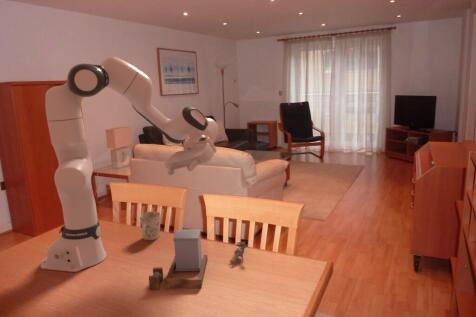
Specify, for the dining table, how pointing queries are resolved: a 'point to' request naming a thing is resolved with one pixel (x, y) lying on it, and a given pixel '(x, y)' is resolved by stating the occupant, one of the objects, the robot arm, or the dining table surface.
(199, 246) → the gray rectangular block
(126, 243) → the dining table surface
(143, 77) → the robot arm
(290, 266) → the dining table surface
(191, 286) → the bay
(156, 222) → the mug
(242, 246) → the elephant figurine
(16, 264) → the dining table surface
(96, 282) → the dining table surface
